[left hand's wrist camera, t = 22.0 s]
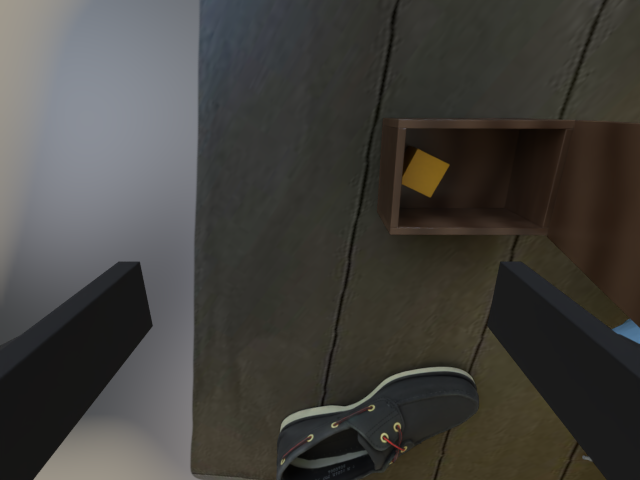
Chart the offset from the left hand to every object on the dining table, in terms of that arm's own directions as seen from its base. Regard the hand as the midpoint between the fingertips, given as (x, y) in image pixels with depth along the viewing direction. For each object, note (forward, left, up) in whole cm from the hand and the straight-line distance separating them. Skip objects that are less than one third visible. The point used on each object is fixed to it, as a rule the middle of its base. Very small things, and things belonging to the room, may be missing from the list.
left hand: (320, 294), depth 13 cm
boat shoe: (-7, +39, -32) cm, 51 cm away
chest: (-16, +1, -32) cm, 36 cm away
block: (-12, +1, -31) cm, 33 cm away
